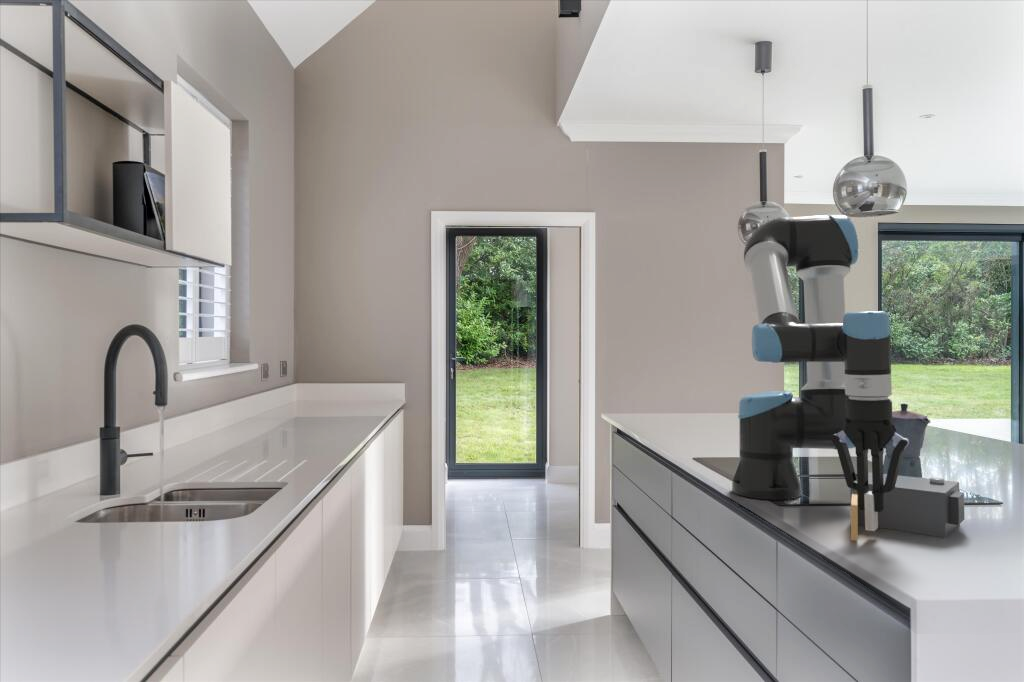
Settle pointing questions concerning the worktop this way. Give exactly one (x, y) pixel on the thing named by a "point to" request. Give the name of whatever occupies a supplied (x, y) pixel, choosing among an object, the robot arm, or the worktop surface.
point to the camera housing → (919, 506)
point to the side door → (854, 515)
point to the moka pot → (913, 429)
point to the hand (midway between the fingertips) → (871, 528)
